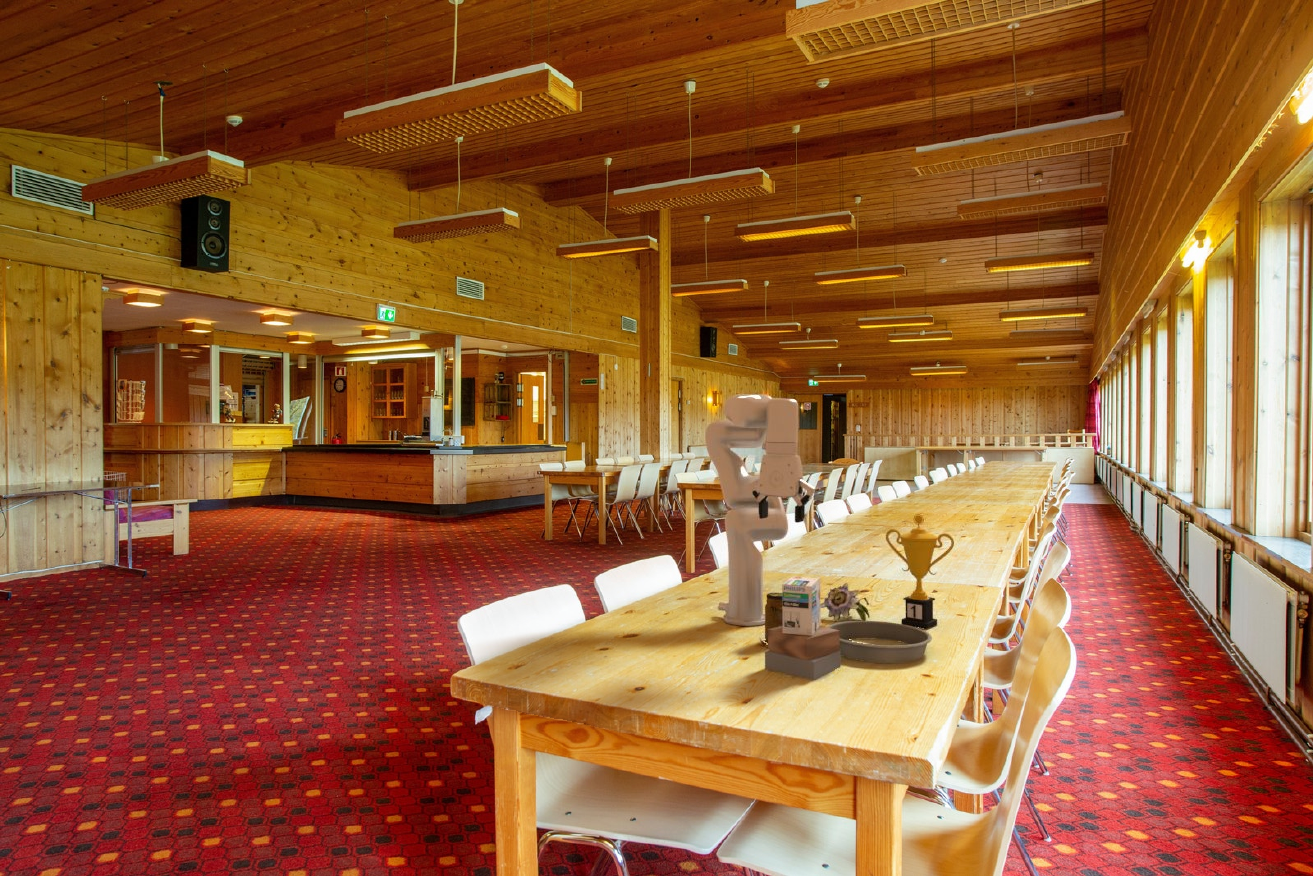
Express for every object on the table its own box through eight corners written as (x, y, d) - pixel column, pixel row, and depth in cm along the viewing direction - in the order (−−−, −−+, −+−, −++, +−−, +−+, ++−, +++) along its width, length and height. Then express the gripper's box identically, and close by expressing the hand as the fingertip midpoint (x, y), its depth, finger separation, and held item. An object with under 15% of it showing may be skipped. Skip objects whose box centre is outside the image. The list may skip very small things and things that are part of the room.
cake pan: (955, 660, 170) (955, 641, 170) (860, 670, 163) (859, 650, 163) (891, 634, 194) (891, 617, 194) (806, 642, 187) (806, 624, 187)
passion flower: (837, 640, 207) (811, 604, 210) (850, 625, 216) (825, 590, 218) (868, 623, 201) (841, 585, 203) (880, 608, 210) (854, 572, 212)
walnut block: (768, 649, 165) (767, 629, 165) (800, 641, 172) (800, 621, 172) (807, 660, 157) (807, 639, 157) (839, 651, 164) (839, 630, 164)
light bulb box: (812, 637, 159) (812, 586, 159) (781, 634, 161) (781, 584, 161) (821, 625, 168) (821, 577, 168) (791, 622, 171) (791, 575, 171)
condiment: (788, 638, 189) (788, 591, 189) (795, 648, 181) (795, 598, 181) (759, 639, 189) (759, 591, 189) (765, 648, 180) (765, 598, 180)
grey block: (765, 672, 164) (764, 651, 164) (792, 660, 173) (792, 640, 173) (814, 683, 156) (814, 661, 156) (840, 669, 165) (840, 649, 165)
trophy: (877, 622, 205) (877, 513, 205) (894, 616, 212) (893, 510, 212) (946, 634, 192) (945, 518, 192) (962, 627, 199) (961, 515, 199)
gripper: (743, 448, 183) (742, 518, 184) (807, 451, 172) (806, 525, 173) (758, 447, 189) (758, 515, 190) (821, 450, 178) (820, 521, 179)
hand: (781, 519), depth 181 cm, fingers open, 9 cm apart
